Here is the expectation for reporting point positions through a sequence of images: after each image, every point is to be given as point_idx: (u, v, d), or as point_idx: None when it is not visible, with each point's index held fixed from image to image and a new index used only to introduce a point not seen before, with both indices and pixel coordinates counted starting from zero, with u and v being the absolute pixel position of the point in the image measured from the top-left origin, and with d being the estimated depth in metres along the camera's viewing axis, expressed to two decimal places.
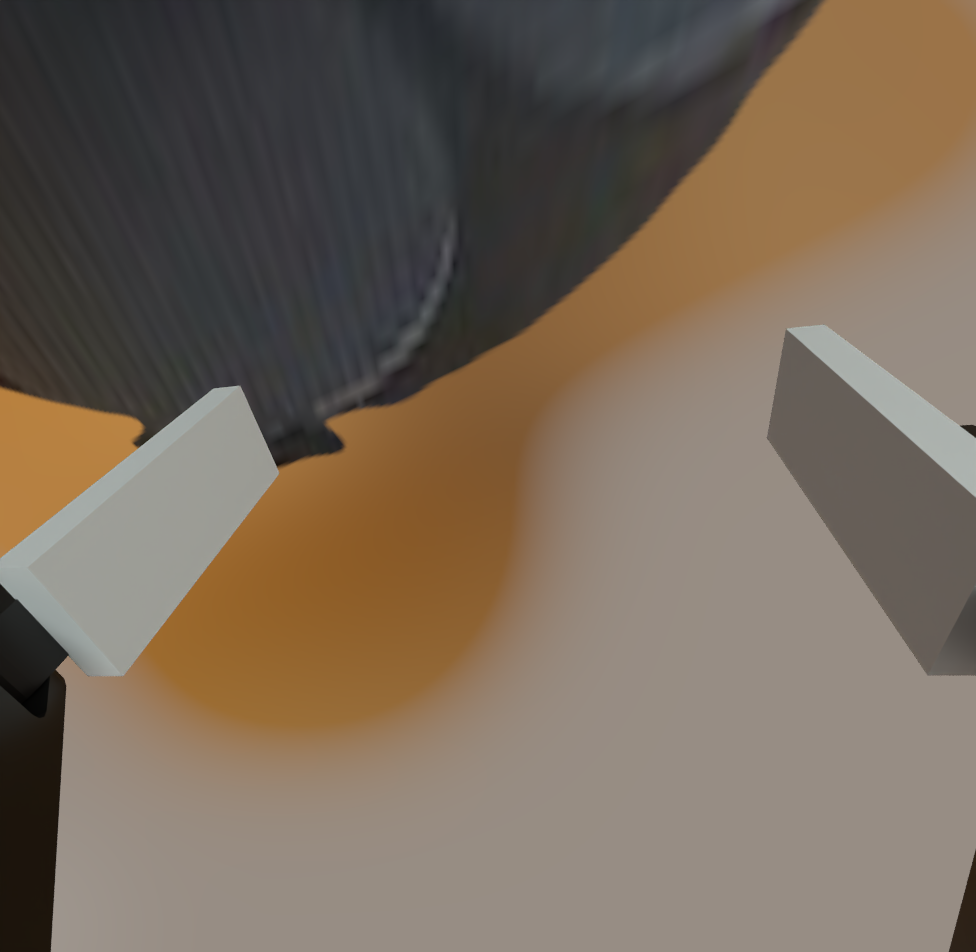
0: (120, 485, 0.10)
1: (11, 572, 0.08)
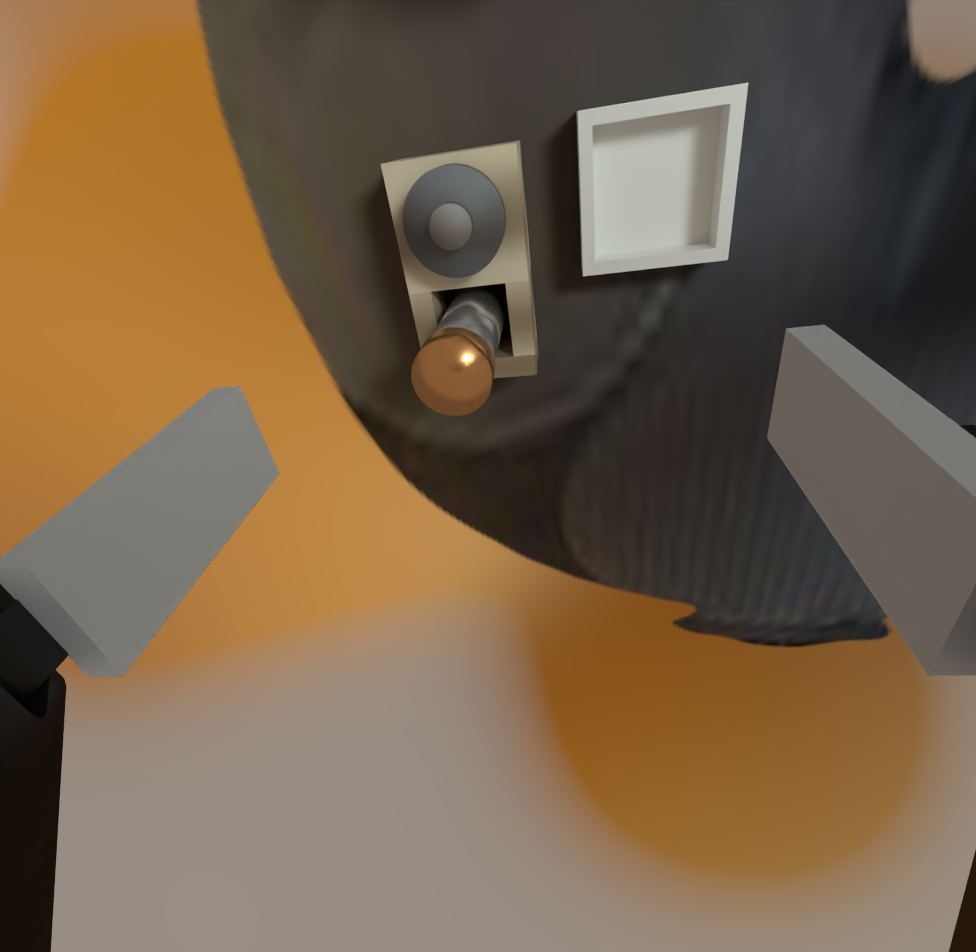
0: (120, 485, 0.10)
1: (11, 572, 0.08)
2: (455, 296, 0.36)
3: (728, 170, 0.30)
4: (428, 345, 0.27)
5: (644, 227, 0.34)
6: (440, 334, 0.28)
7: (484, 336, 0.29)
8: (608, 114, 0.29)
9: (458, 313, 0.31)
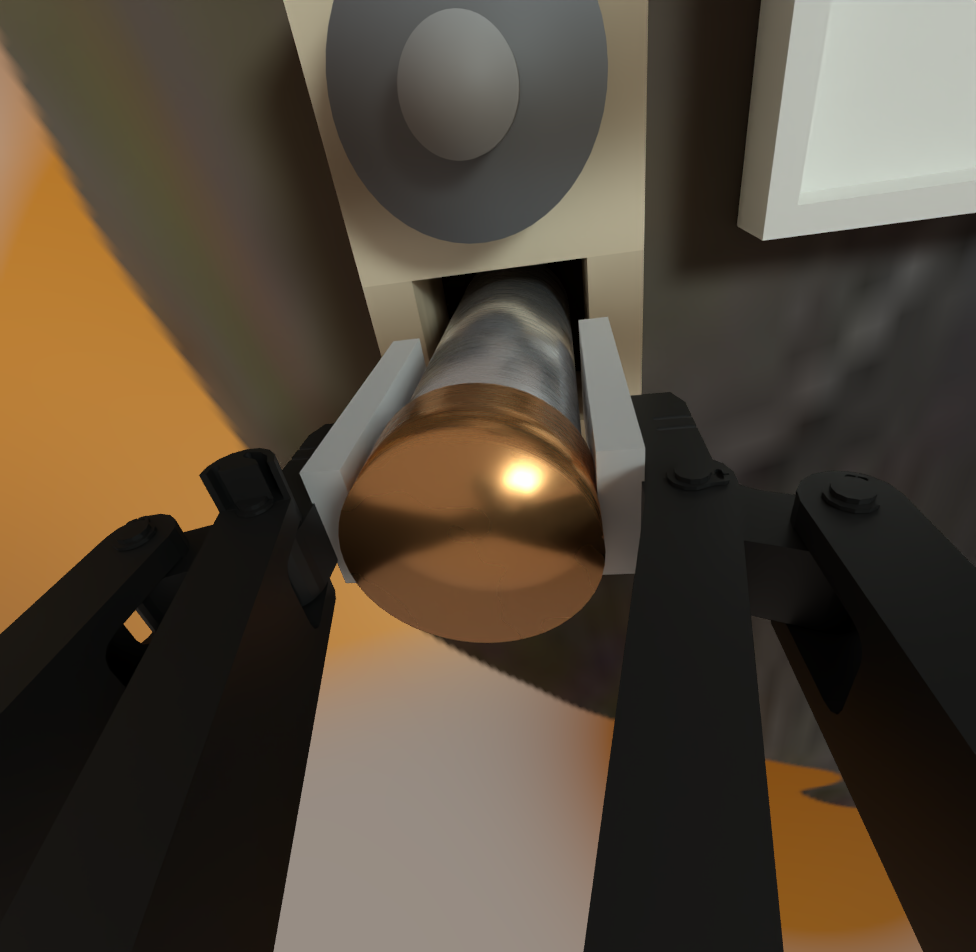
0: (369, 412, 0.11)
1: (320, 475, 0.09)
2: (466, 292, 0.17)
3: None
4: (389, 458, 0.08)
5: (909, 122, 0.14)
6: (431, 411, 0.08)
7: (560, 401, 0.10)
8: None
9: (482, 335, 0.12)
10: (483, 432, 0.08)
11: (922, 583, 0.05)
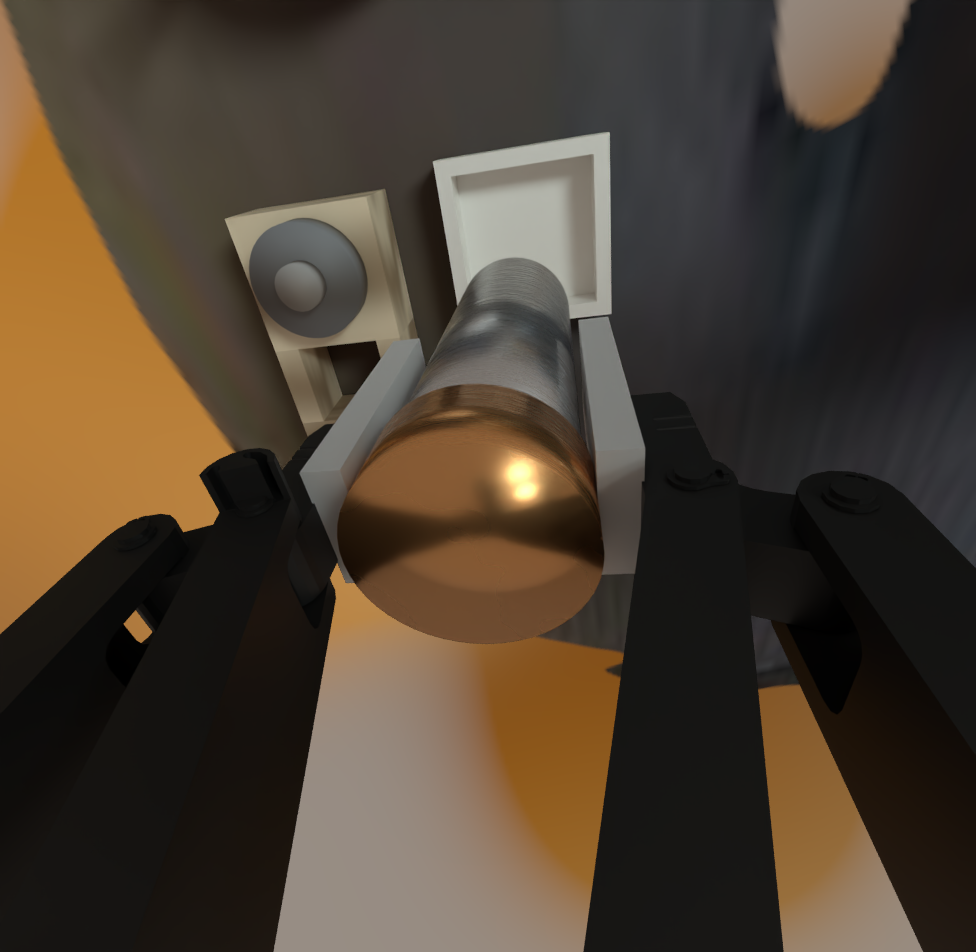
0: (369, 412, 0.11)
1: (320, 476, 0.09)
2: (466, 292, 0.17)
3: (600, 222, 0.28)
4: (387, 459, 0.08)
5: None
6: (430, 412, 0.08)
7: (560, 402, 0.10)
8: (466, 165, 0.27)
9: (481, 336, 0.12)
10: (482, 433, 0.08)
11: (922, 583, 0.05)
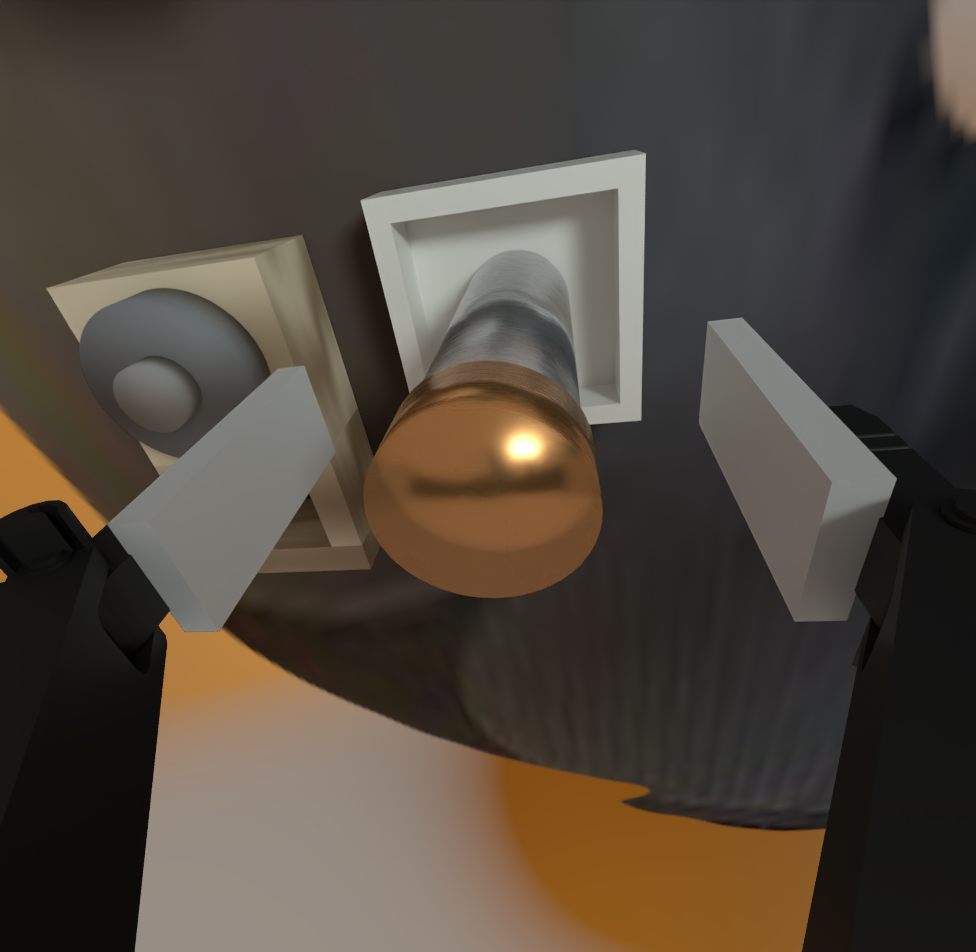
0: (213, 452, 0.10)
1: (129, 527, 0.09)
2: (471, 283, 0.18)
3: (627, 293, 0.18)
4: (411, 424, 0.09)
5: None
6: (447, 385, 0.09)
7: (562, 379, 0.11)
8: (413, 206, 0.17)
9: (489, 320, 0.12)
10: (494, 401, 0.09)
11: None
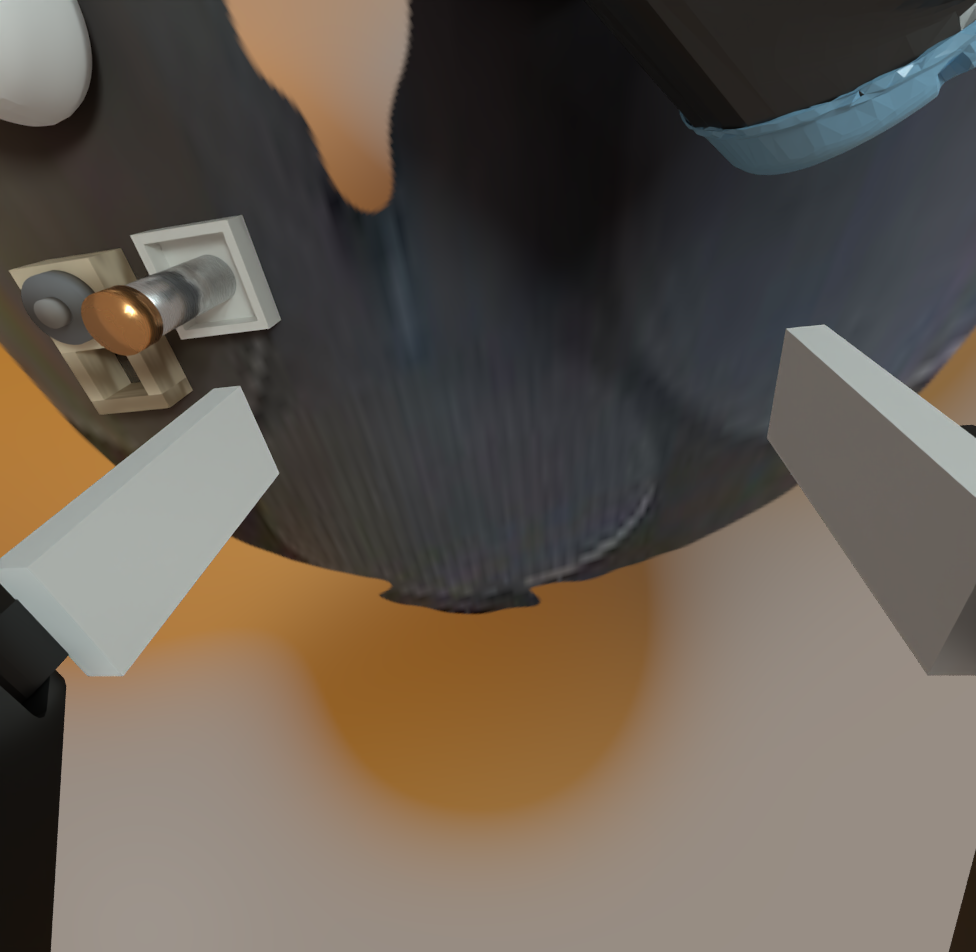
0: (120, 485, 0.10)
1: (11, 572, 0.08)
2: None
3: (241, 272, 0.44)
4: (86, 297, 0.35)
5: (221, 304, 0.48)
6: (102, 290, 0.36)
7: (153, 293, 0.37)
8: (150, 237, 0.43)
9: (145, 277, 0.39)
10: (106, 292, 0.35)
11: None
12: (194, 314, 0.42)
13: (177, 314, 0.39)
